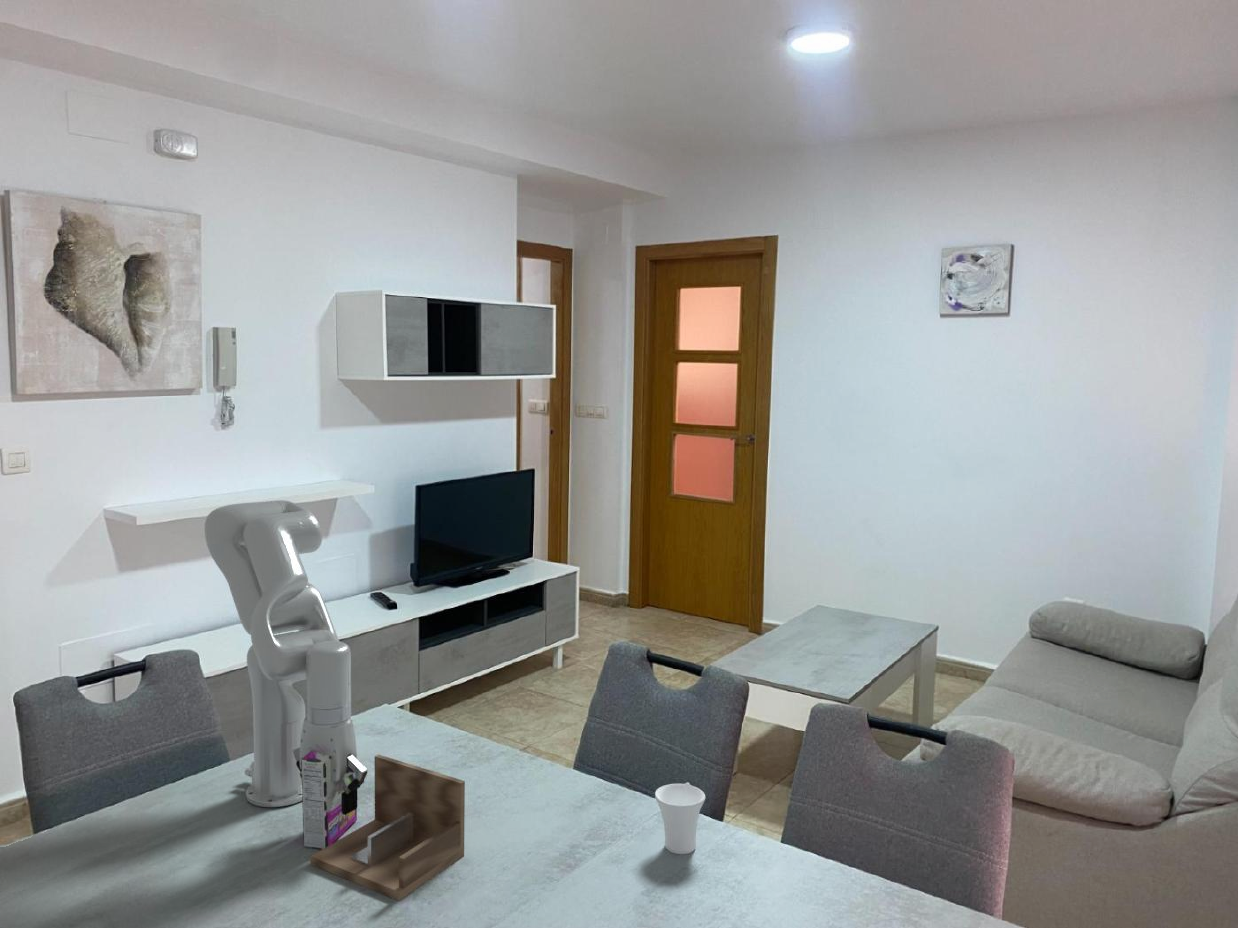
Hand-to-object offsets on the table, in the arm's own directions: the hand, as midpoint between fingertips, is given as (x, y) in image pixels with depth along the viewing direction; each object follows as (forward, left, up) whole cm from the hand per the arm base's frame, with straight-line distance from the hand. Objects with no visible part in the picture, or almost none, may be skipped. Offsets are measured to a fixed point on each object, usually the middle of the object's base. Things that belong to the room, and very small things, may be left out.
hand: (329, 804), depth 166 cm
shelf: (+15, -1, -6) cm, 16 cm away
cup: (+55, +30, -6) cm, 63 cm away
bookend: (+14, -1, -4) cm, 14 cm away
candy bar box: (0, 0, -6) cm, 6 cm away
